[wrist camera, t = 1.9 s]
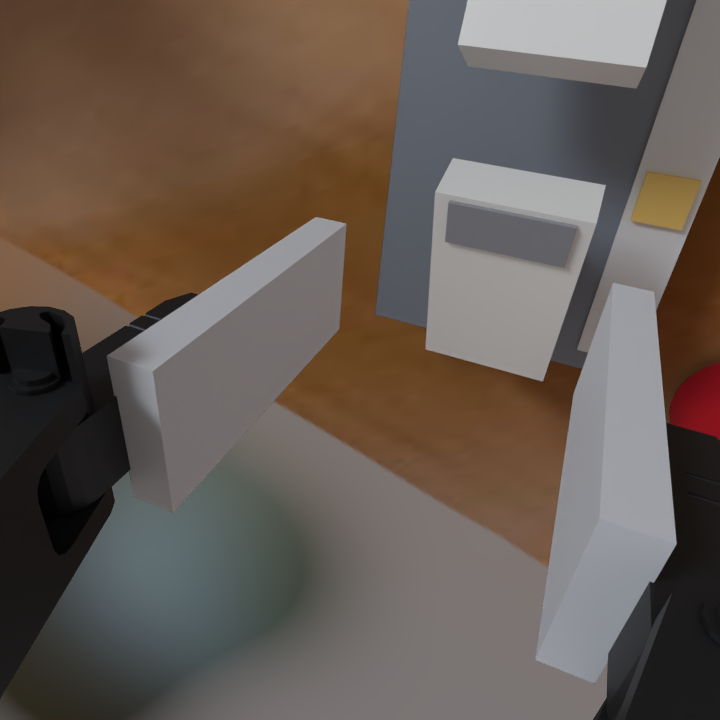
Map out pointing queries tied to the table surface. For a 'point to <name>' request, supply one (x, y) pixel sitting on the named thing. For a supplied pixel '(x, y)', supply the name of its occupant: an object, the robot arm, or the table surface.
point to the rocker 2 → (506, 263)
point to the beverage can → (699, 402)
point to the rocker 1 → (563, 38)
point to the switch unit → (557, 154)
